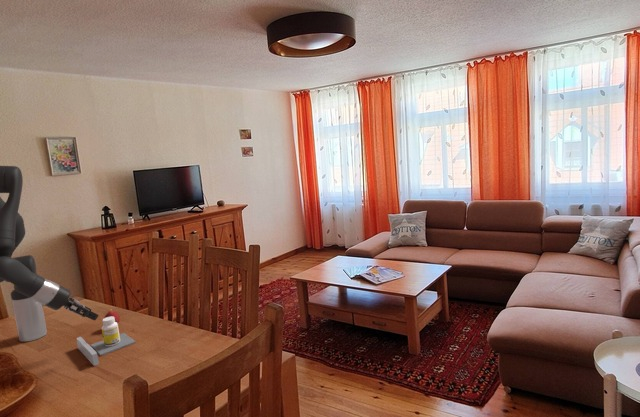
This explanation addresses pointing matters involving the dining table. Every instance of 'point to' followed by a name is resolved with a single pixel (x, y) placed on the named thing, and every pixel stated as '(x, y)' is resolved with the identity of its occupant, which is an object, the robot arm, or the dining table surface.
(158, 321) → the dining table surface
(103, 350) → the slate mat
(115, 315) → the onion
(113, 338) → the supplement bottle
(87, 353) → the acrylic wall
